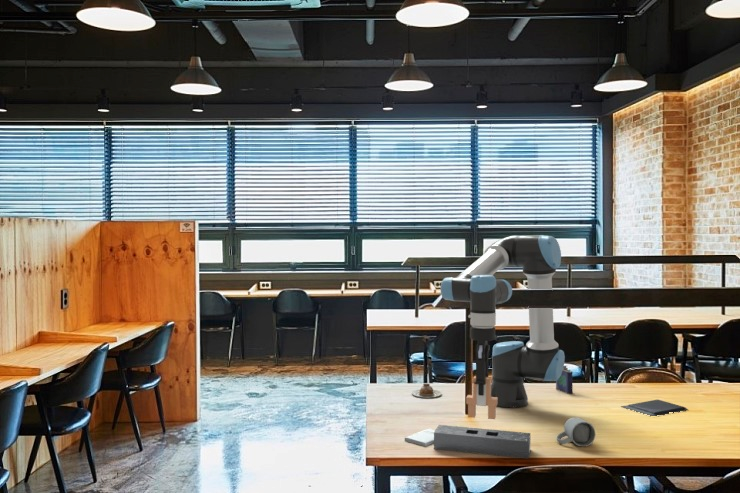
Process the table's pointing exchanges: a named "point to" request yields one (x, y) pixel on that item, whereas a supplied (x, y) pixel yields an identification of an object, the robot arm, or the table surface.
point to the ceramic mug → (577, 432)
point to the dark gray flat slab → (655, 407)
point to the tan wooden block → (490, 401)
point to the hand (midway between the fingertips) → (482, 403)
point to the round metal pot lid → (426, 391)
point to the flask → (565, 381)
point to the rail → (482, 441)
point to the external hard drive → (422, 437)
